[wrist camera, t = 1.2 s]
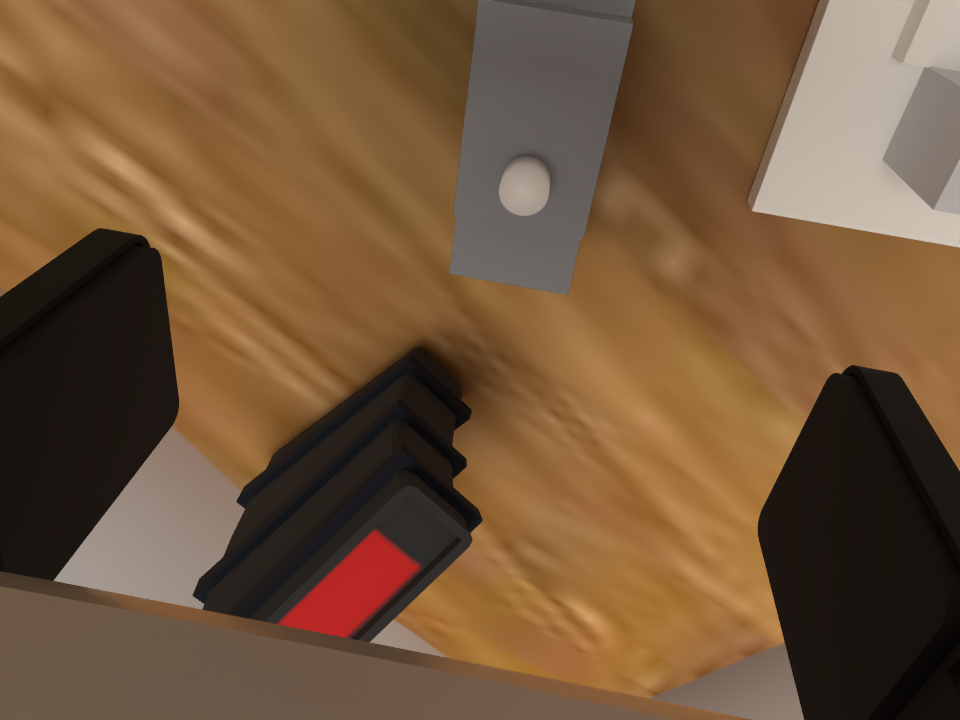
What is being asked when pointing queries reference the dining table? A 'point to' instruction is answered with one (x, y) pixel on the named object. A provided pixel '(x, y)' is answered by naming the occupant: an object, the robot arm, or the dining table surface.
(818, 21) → the cradle
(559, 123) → the servo
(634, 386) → the dining table surface
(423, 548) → the black ridged block
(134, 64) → the dining table surface
